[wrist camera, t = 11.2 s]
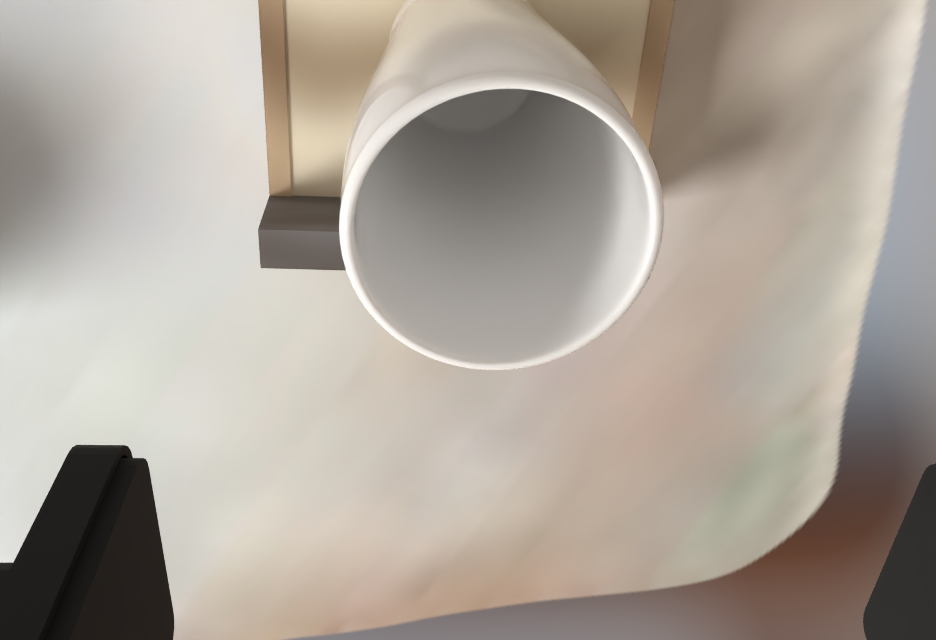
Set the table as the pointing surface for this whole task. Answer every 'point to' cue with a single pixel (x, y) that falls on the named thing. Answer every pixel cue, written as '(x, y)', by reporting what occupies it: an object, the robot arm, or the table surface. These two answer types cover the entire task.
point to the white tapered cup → (494, 189)
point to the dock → (348, 74)
